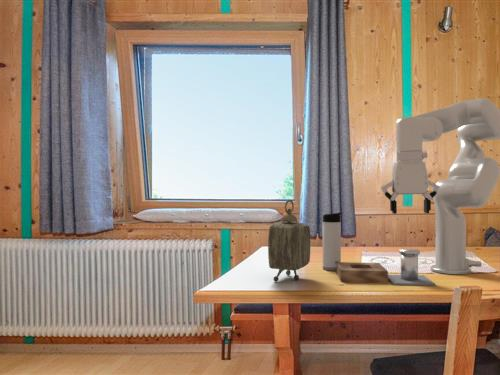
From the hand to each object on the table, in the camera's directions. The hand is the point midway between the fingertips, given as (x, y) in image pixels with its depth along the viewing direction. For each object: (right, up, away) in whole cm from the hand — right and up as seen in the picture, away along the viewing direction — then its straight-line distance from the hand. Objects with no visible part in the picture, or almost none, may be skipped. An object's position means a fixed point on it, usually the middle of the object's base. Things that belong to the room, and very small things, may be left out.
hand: (410, 213), depth 135 cm
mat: (0, -21, 0) cm, 21 cm away
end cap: (0, -20, 0) cm, 20 cm away
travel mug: (-21, -21, +19) cm, 35 cm away
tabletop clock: (-37, -21, +2) cm, 42 cm away
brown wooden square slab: (-14, -21, +5) cm, 26 cm away
